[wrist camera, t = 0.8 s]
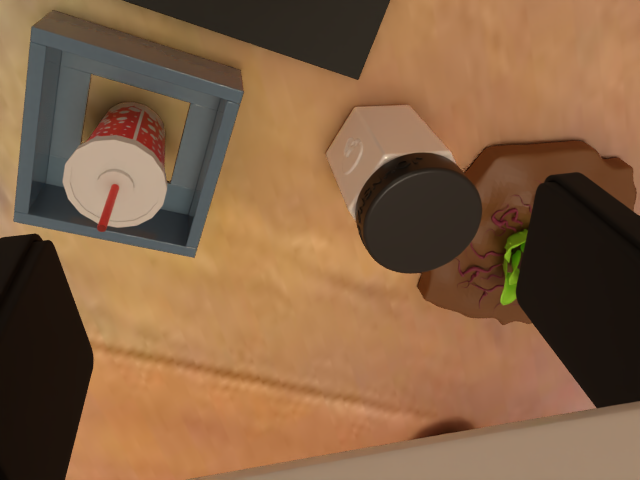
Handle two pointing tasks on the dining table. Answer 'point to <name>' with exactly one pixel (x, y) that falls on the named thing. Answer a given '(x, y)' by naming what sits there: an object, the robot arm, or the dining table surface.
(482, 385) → the dining table surface
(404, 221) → the jar
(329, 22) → the mat
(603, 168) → the plant
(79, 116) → the blue-grey open box
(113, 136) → the beverage cup
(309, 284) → the dining table surface
